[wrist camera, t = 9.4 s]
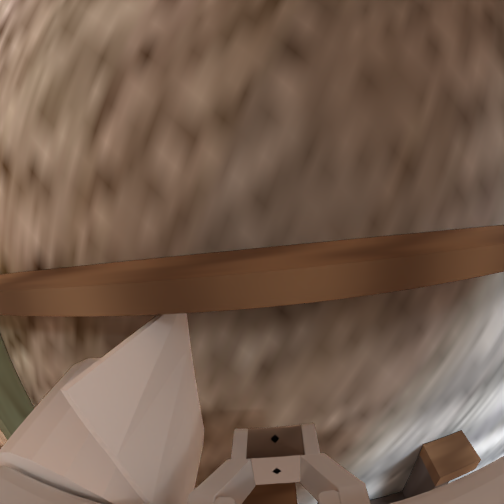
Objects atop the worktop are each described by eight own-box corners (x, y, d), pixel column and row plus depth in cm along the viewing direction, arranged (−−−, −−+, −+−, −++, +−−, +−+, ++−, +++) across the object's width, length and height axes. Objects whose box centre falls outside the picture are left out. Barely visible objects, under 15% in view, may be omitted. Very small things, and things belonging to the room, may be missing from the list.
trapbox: (507, 224, 10) (550, 236, 7) (433, 485, 15) (445, 511, 12) (-26, 276, 12) (-61, 293, 9) (88, 498, 16) (77, 522, 13)
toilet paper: (185, 297, 12) (111, 421, 5) (213, 472, 14) (198, 571, 7) (30, 291, 12) (-70, 354, 5) (90, 452, 14) (50, 527, 8)
